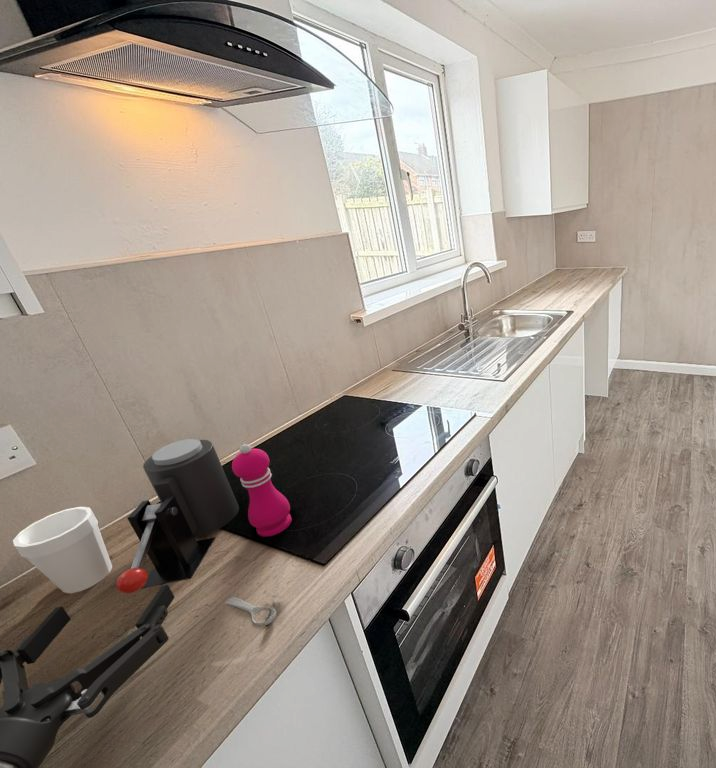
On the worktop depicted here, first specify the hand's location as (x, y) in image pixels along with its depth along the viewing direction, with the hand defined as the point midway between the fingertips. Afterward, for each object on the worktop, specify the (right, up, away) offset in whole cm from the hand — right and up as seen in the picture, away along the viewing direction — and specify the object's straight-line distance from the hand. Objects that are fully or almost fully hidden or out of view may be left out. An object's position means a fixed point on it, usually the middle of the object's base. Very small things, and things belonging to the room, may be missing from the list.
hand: (117, 601), depth 61 cm
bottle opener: (+16, -5, +5) cm, 18 cm away
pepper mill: (+11, +3, +23) cm, 25 cm away
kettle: (-5, +3, +26) cm, 26 cm away
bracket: (-2, -1, +15) cm, 15 cm away
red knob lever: (-2, +4, +8) cm, 9 cm away
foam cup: (-17, -4, +13) cm, 22 cm away
